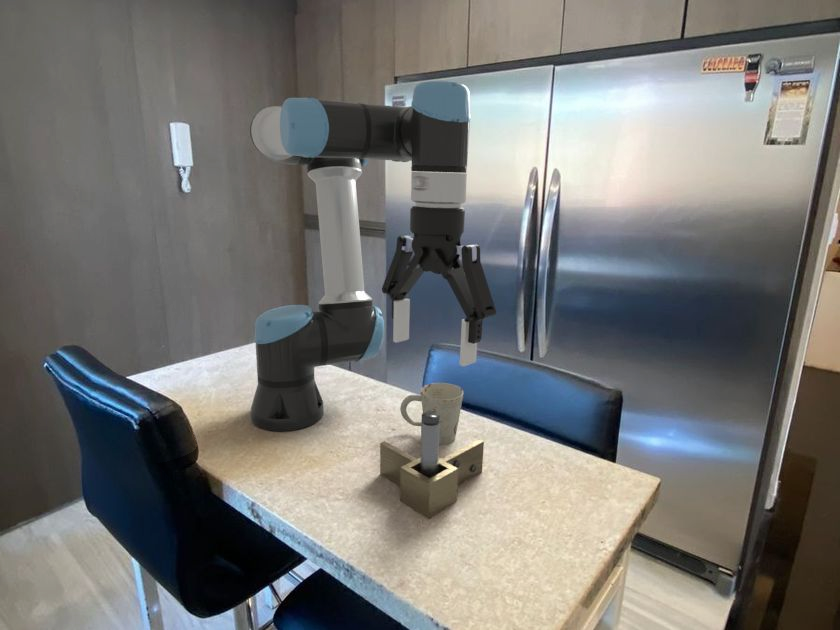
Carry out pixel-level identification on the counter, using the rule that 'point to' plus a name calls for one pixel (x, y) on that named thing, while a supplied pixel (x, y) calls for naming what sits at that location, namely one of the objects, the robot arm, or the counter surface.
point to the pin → (429, 444)
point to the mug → (439, 407)
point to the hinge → (438, 489)
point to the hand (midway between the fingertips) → (432, 351)
